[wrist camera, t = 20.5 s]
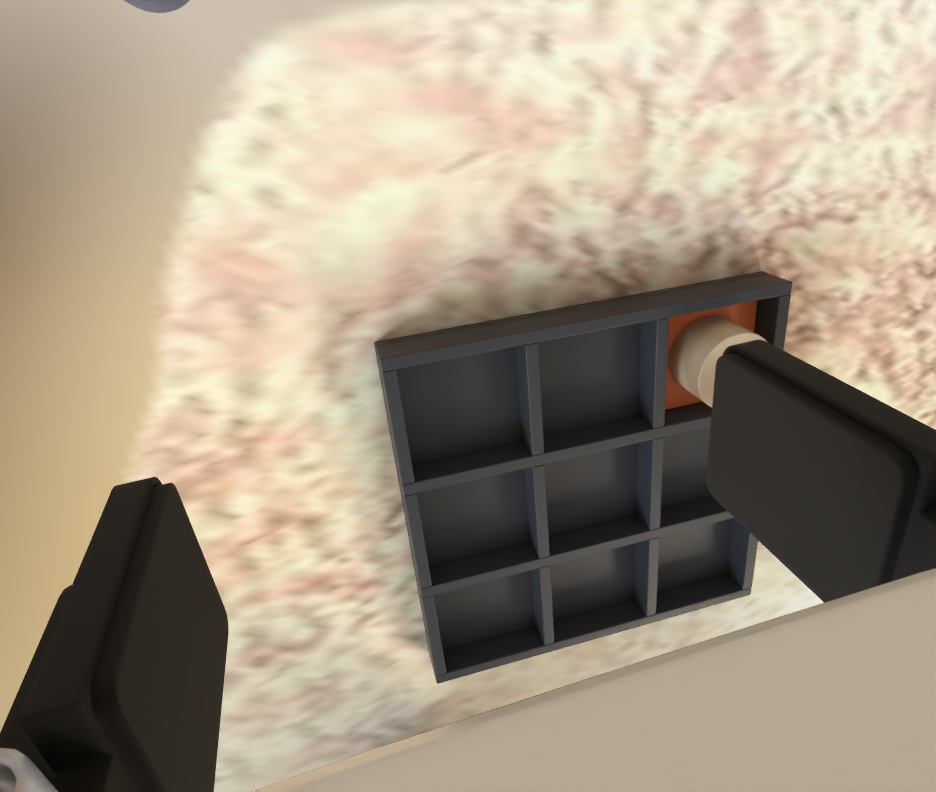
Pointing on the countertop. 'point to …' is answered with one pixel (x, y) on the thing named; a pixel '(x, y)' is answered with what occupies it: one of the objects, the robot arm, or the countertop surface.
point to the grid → (564, 472)
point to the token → (704, 353)
